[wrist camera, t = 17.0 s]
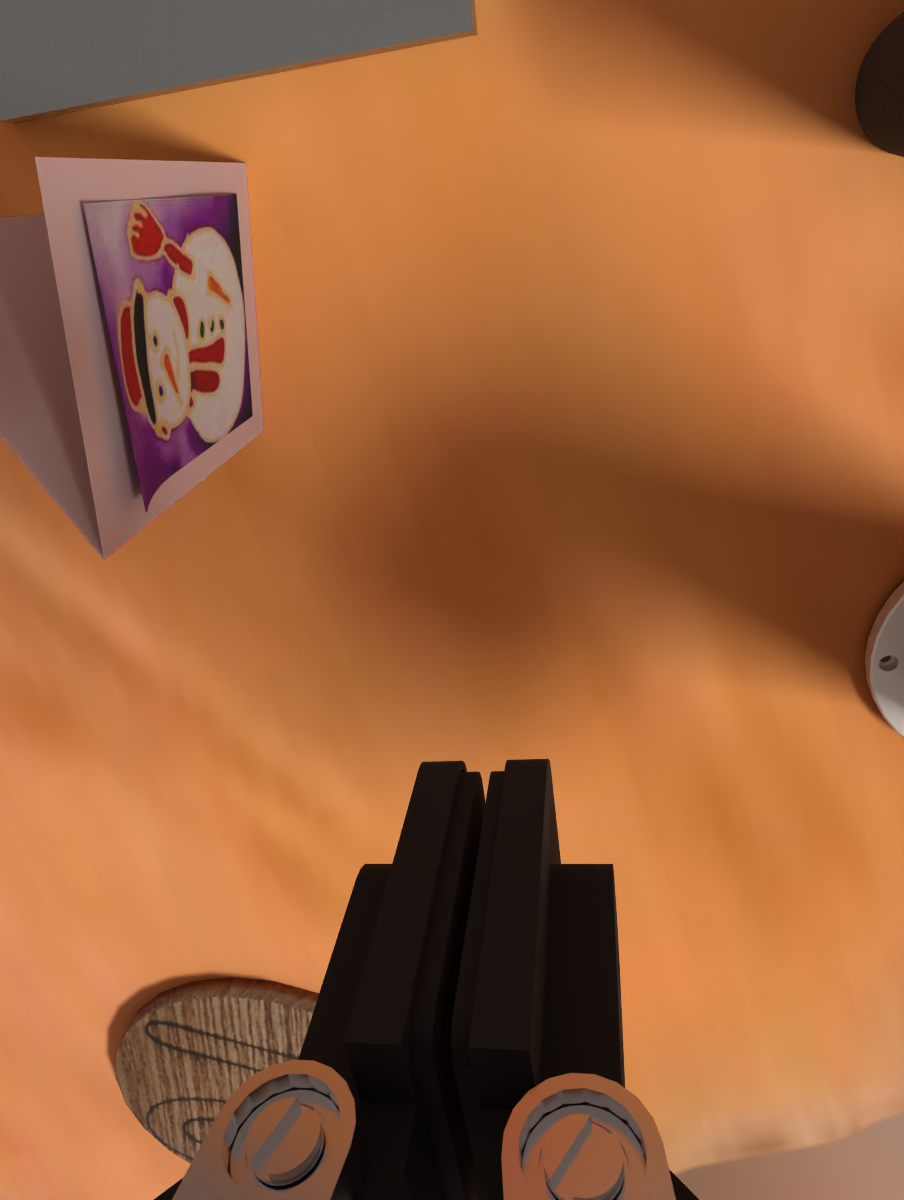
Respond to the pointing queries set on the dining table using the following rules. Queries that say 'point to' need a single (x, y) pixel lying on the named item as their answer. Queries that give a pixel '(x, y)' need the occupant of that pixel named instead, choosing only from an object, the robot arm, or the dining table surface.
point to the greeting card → (128, 336)
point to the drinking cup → (883, 90)
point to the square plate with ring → (193, 44)
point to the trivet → (205, 1051)
